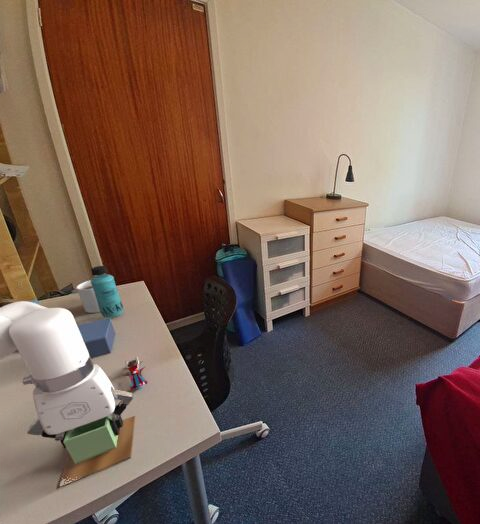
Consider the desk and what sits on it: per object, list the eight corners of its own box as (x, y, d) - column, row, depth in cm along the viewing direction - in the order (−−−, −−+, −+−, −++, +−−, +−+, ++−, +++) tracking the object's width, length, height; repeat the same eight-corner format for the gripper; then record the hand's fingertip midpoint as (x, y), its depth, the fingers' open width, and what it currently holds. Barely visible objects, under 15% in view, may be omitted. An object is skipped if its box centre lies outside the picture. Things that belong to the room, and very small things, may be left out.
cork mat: (59, 488, 53) (58, 487, 53) (73, 439, 61) (73, 438, 61) (131, 457, 58) (130, 456, 58) (135, 416, 67) (134, 415, 67)
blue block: (61, 366, 80) (53, 349, 78) (71, 343, 89) (64, 327, 87) (111, 353, 86) (105, 336, 84) (116, 333, 95) (110, 317, 93)
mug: (82, 307, 108) (73, 284, 105) (112, 298, 116) (105, 276, 112) (90, 317, 103) (81, 293, 99) (121, 307, 110) (114, 284, 106)
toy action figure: (129, 398, 71) (122, 382, 69) (123, 371, 79) (117, 356, 77) (152, 388, 75) (147, 372, 72) (144, 363, 83) (139, 348, 80)
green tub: (75, 464, 55) (63, 442, 52) (82, 437, 60) (71, 416, 57) (116, 448, 58) (106, 426, 56) (119, 423, 63) (111, 402, 61)
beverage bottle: (98, 319, 102) (80, 269, 94) (118, 310, 108) (101, 262, 100) (111, 323, 100) (93, 272, 92) (130, 313, 106) (114, 265, 98)
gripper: (-15, 407, 44) (32, 478, 51) (122, 368, 53) (146, 432, 60) (6, 376, 50) (45, 443, 57) (126, 345, 59) (147, 406, 66)
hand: (96, 437), depth 58 cm, fingers closed on green tub, 6 cm apart
